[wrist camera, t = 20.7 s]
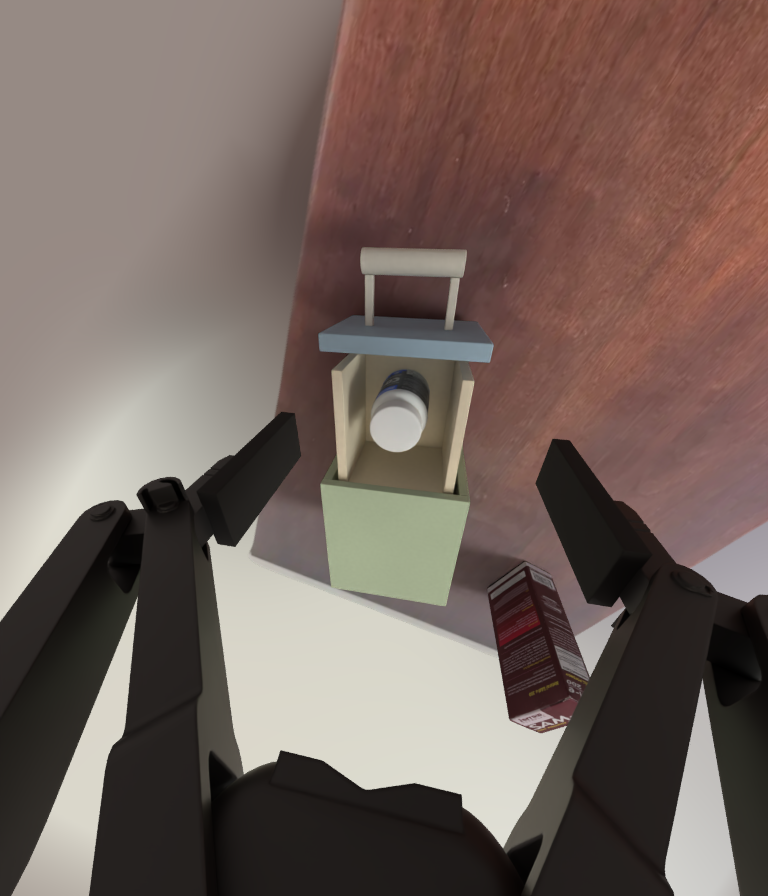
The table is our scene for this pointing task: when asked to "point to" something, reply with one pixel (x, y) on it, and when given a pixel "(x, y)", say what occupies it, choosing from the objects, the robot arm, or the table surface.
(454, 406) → the drawer
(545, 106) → the table surface
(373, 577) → the green box-shaped shell
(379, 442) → the pill bottle
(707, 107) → the table surface
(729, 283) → the table surface
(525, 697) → the supplement box
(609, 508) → the robot arm
